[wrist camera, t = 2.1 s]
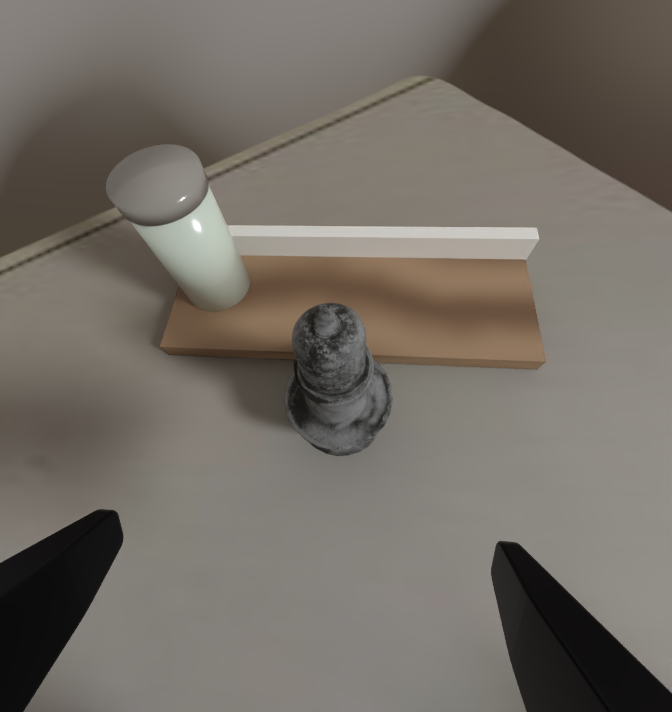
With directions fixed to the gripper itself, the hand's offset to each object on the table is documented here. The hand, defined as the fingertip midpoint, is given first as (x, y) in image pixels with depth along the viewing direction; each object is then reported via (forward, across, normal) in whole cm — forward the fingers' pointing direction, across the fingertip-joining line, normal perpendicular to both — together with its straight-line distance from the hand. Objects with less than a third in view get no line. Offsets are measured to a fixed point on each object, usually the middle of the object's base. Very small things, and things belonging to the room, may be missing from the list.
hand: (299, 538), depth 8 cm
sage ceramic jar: (+19, +10, -3) cm, 21 cm away
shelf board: (+19, 0, -2) cm, 19 cm away
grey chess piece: (+14, 0, +4) cm, 14 cm away
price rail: (+22, 0, -4) cm, 23 cm away
